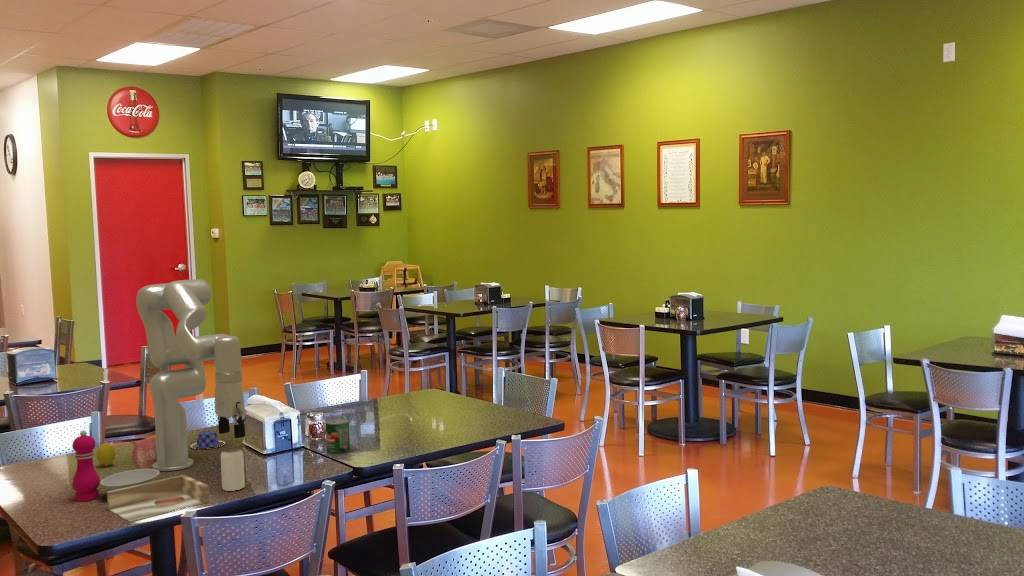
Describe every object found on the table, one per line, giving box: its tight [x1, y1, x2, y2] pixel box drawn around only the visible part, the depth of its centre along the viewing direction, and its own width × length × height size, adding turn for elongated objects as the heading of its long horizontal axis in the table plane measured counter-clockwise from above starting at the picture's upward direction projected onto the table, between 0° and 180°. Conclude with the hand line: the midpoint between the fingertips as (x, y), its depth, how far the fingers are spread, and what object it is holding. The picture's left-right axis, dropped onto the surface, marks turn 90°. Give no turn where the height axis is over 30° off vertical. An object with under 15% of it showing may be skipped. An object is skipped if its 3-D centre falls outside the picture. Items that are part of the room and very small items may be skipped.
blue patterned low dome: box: [189, 430, 226, 450], centre depth 309 cm, size 12×12×5 cm
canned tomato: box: [324, 418, 351, 456], centre depth 296 cm, size 8×8×11 cm
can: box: [220, 446, 246, 492], centre depth 257 cm, size 6×6×12 cm
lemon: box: [96, 442, 116, 467], centre depth 285 cm, size 6×6×8 cm
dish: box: [99, 468, 161, 491], centre depth 255 cm, size 18×14×5 cm
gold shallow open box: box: [106, 474, 210, 523], centre depth 243 cm, size 16×22×5 cm
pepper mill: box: [71, 429, 101, 502], centre depth 251 cm, size 7×7×20 cm
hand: (232, 435), depth 256 cm, fingers open, 9 cm apart
